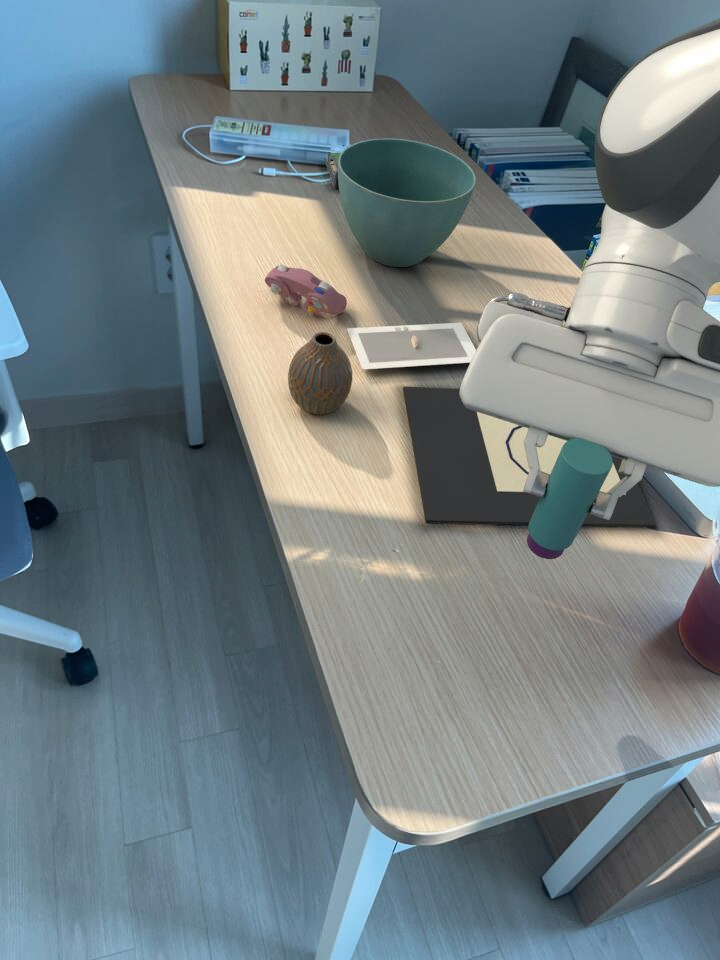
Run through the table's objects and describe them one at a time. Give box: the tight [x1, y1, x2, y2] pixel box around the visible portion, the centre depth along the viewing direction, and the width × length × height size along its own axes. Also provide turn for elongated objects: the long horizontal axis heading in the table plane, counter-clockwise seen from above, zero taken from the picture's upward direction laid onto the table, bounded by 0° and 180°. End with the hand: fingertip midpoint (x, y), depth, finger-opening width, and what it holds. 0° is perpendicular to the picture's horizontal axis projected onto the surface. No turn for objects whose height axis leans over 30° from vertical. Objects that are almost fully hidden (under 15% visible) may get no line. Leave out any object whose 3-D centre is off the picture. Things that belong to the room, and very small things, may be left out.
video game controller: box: [264, 263, 348, 316], centre depth 94 cm, size 10×5×7 cm, turn 62°
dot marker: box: [526, 438, 613, 560], centre depth 56 cm, size 4×4×10 cm
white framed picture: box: [346, 322, 477, 370], centre depth 92 cm, size 8×15×2 cm, turn 104°
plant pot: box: [338, 138, 477, 268], centre depth 103 cm, size 18×18×12 cm
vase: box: [287, 331, 353, 415], centre depth 81 cm, size 7×7×9 cm
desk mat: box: [402, 386, 657, 528], centre depth 82 cm, size 24×20×1 cm
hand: (565, 505), depth 55 cm, fingers closed on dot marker, 3 cm apart
